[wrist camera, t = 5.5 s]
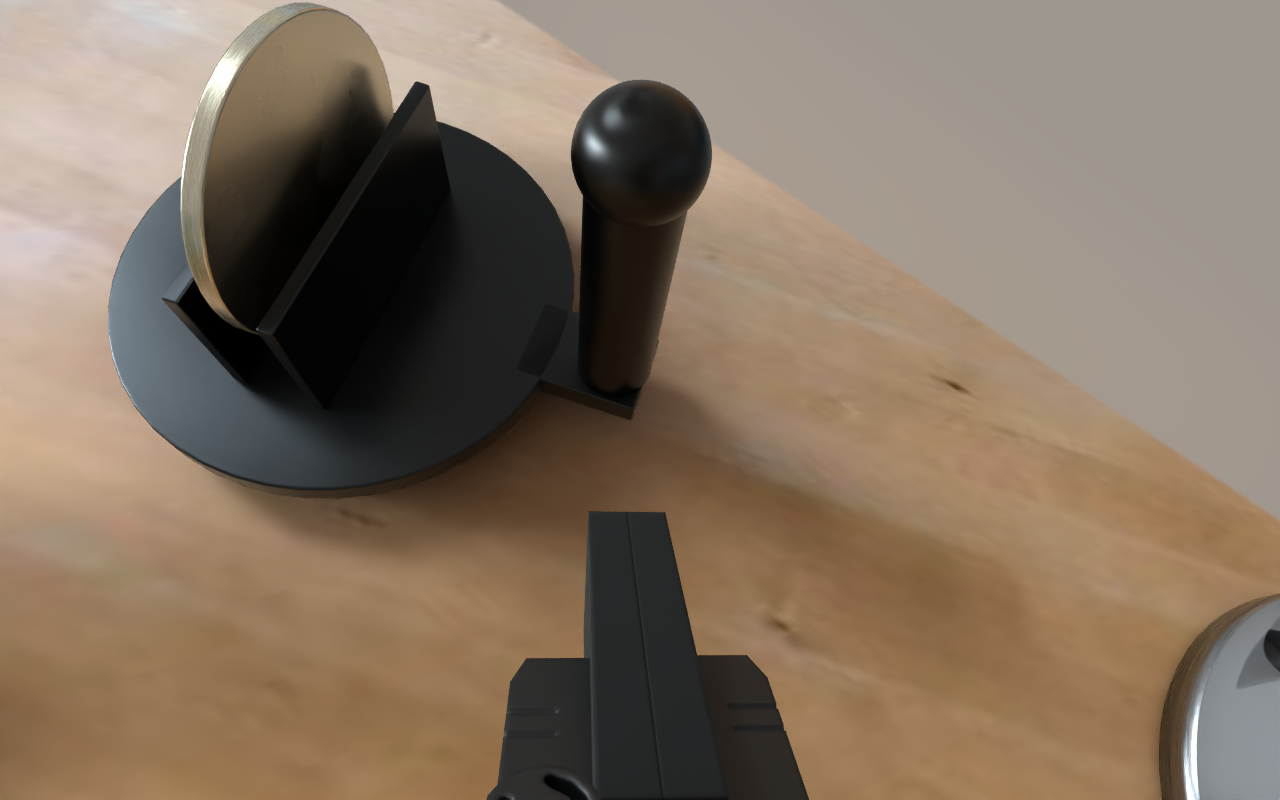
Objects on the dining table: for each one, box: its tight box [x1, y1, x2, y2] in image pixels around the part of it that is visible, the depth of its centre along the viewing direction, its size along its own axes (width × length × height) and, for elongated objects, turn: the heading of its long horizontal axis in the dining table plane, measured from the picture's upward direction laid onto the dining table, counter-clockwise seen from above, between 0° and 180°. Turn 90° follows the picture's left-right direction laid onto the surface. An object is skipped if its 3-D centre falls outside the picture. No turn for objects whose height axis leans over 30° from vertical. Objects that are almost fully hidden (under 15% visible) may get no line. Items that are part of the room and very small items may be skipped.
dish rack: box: [108, 3, 712, 499], centre depth 22 cm, size 20×16×13 cm
